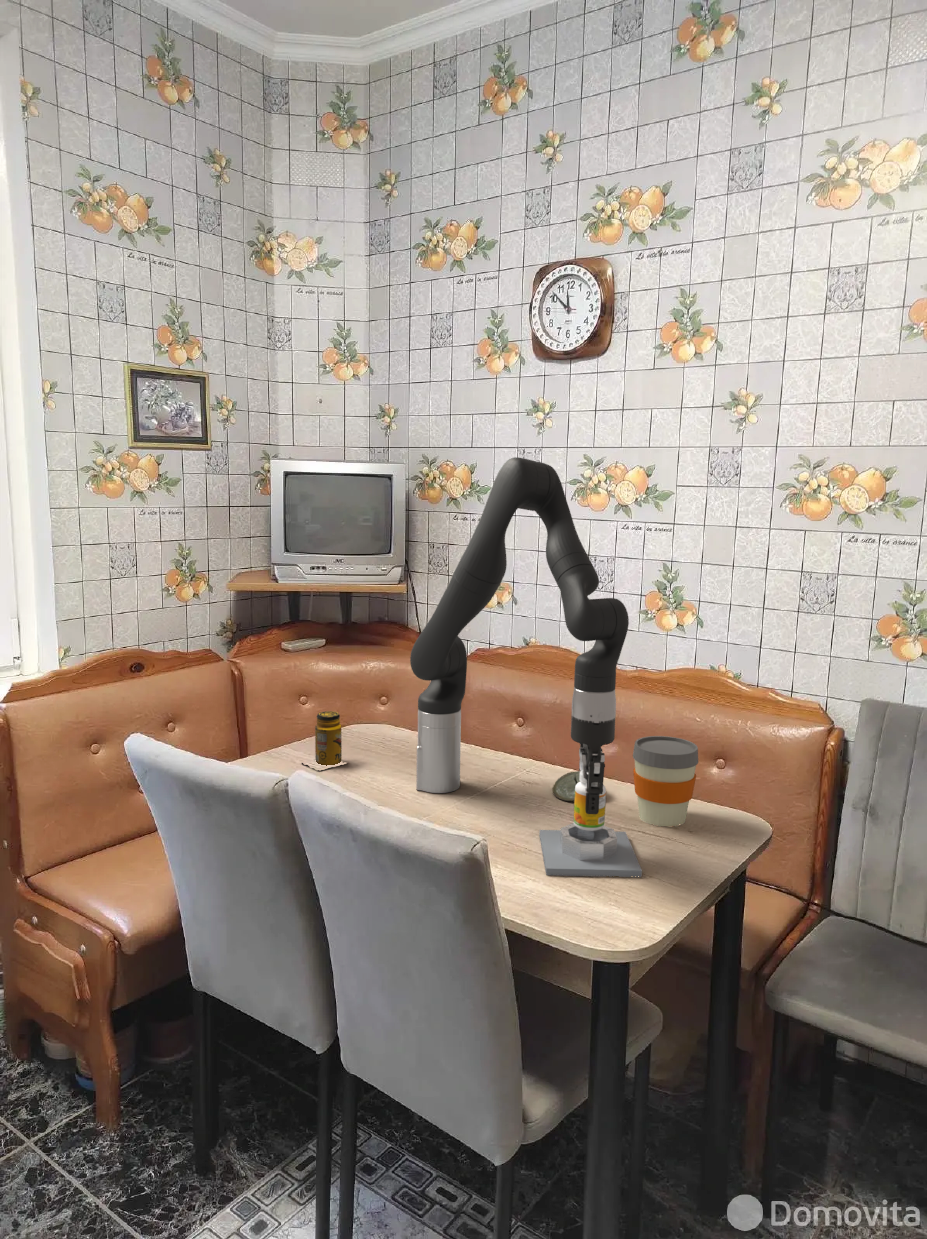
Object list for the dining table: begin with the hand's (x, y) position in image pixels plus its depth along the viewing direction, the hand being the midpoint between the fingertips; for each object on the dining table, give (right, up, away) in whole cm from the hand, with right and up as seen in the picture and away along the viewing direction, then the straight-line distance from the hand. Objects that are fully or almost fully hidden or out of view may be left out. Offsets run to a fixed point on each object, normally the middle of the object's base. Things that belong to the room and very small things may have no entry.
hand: (589, 806), depth 148 cm
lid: (+2, -5, +30) cm, 31 cm away
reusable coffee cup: (+17, -7, +19) cm, 26 cm away
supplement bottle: (0, -4, +1) cm, 4 cm away
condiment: (-54, -1, +48) cm, 72 cm away
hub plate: (0, -9, +1) cm, 9 cm away
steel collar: (0, -8, +1) cm, 8 cm away
